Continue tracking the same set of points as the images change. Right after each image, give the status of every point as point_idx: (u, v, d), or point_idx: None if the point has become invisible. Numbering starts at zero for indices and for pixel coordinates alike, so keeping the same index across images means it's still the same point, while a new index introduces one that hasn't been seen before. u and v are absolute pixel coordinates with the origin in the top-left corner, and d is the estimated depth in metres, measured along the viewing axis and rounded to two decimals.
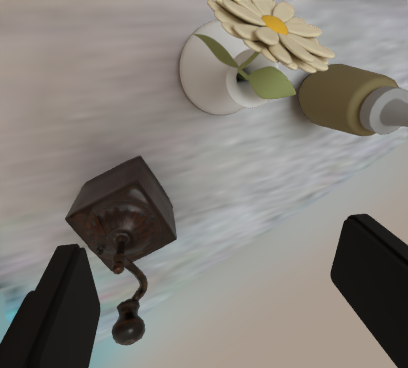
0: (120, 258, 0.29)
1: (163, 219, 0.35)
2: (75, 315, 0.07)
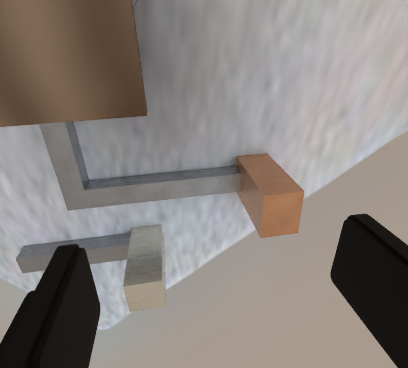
0: None
1: None
2: (75, 315, 0.07)
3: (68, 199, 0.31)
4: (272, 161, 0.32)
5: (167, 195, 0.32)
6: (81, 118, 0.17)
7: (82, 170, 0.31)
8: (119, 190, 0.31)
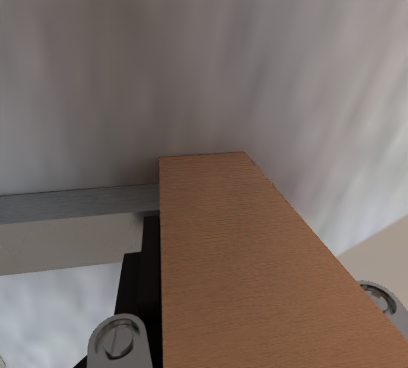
0: None
1: None
2: None
3: None
4: (256, 174, 0.10)
5: None
6: None
7: None
8: None
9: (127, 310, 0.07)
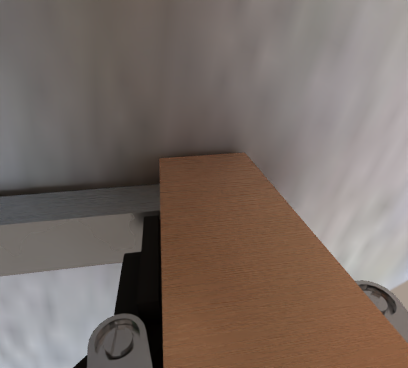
0: None
1: None
2: None
3: None
4: (256, 175, 0.10)
5: None
6: None
7: None
8: None
9: (127, 310, 0.07)
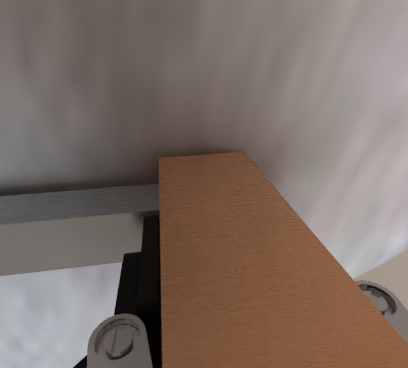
0: None
1: None
2: None
3: None
4: (255, 174, 0.10)
5: None
6: None
7: None
8: None
9: (127, 310, 0.07)
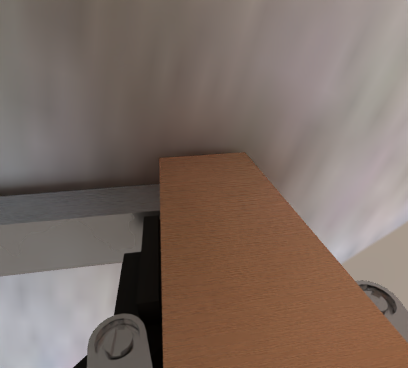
0: None
1: None
2: None
3: None
4: (256, 175, 0.10)
5: None
6: None
7: None
8: None
9: (127, 310, 0.07)
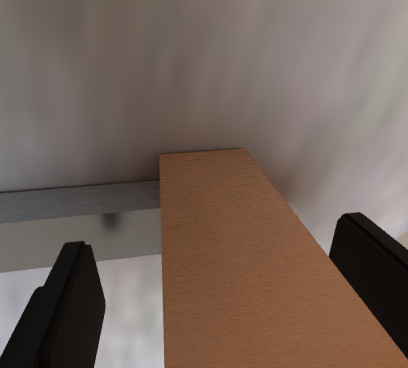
0: None
1: None
2: (82, 310, 0.07)
3: None
4: (256, 173, 0.10)
5: None
6: None
7: None
8: None
9: None
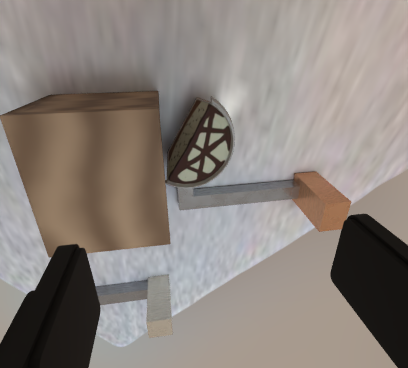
0: None
1: None
2: (75, 315, 0.07)
3: (181, 202, 0.44)
4: (322, 178, 0.46)
5: (248, 200, 0.46)
6: (138, 246, 0.33)
7: None
8: (216, 196, 0.44)
9: None
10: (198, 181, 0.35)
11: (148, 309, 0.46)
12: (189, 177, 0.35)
